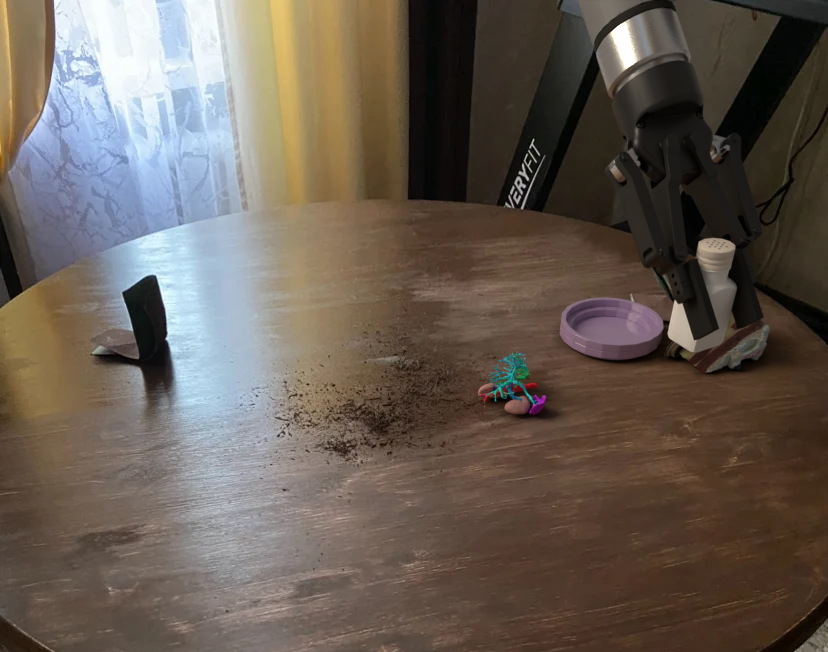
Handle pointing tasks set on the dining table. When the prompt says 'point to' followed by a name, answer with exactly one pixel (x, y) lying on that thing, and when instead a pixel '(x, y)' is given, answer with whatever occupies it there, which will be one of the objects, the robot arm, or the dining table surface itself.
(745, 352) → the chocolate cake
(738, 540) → the dining table surface
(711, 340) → the pepper shaker
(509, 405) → the anatomy model
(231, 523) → the dining table surface
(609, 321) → the dish
